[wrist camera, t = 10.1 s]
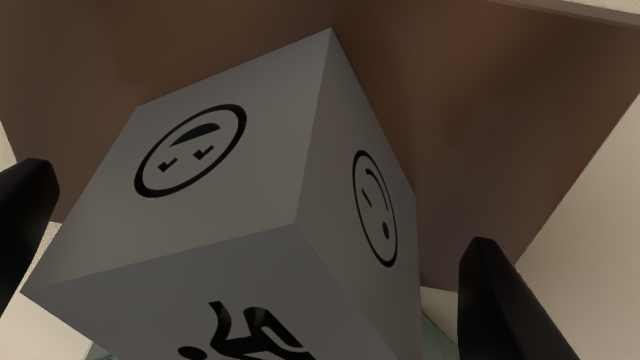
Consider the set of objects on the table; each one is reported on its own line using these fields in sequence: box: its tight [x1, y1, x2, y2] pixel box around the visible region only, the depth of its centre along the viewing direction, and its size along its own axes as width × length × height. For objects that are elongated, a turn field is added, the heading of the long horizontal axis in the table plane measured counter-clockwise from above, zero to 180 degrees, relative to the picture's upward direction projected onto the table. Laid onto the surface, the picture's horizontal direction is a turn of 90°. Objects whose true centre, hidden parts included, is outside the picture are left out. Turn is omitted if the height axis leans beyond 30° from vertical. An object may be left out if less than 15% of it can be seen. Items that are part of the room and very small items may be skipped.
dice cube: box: [20, 27, 423, 360], centre depth 10 cm, size 5×5×5 cm
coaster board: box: [0, 0, 640, 292], centre depth 12 cm, size 14×9×1 cm, turn 82°
